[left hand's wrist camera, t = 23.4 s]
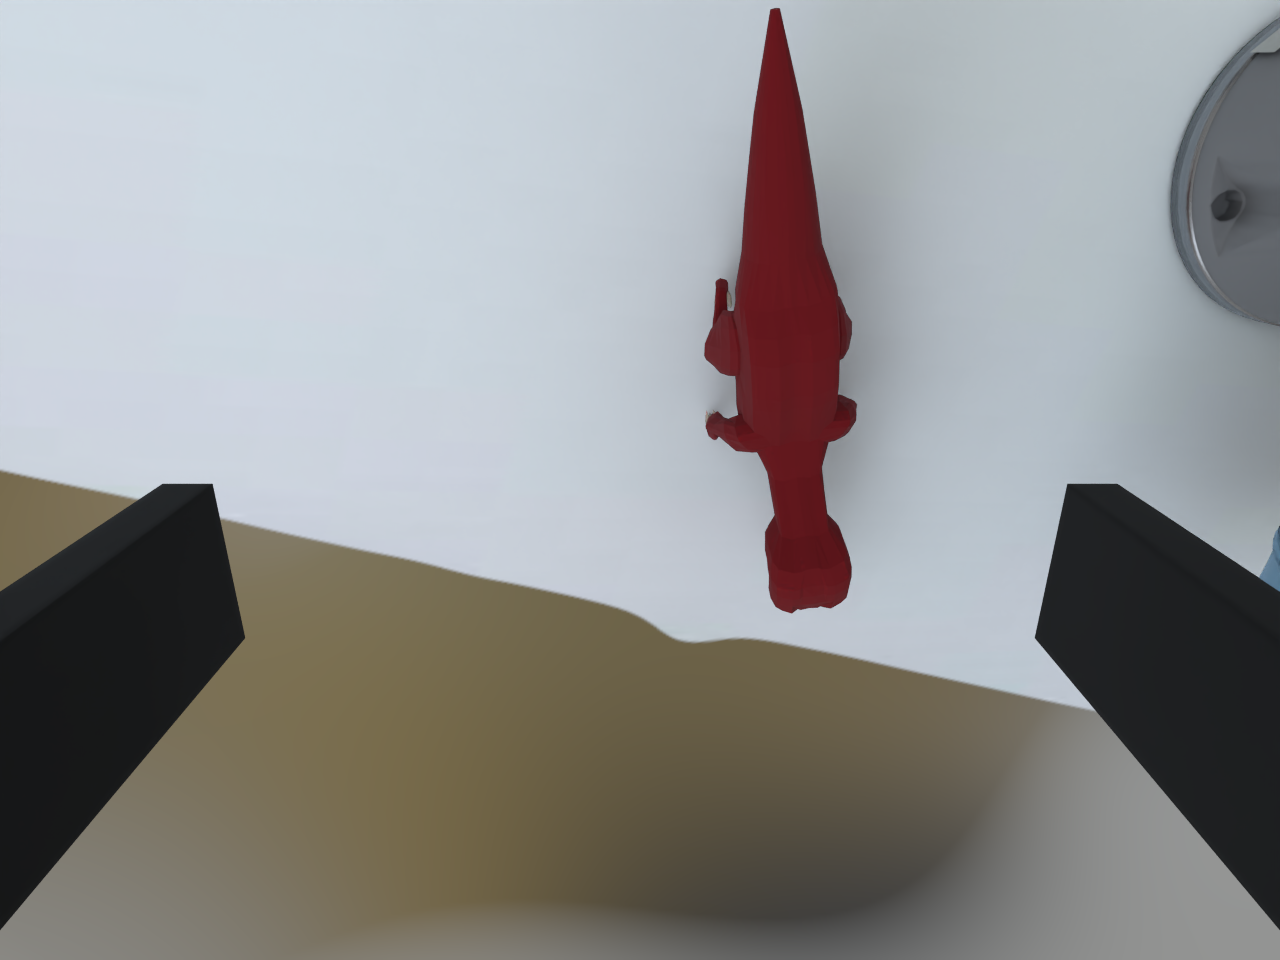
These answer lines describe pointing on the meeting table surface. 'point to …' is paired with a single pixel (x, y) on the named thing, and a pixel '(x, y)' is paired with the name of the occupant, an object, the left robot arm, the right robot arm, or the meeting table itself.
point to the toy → (786, 344)
